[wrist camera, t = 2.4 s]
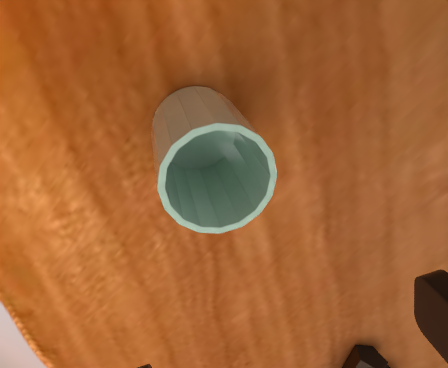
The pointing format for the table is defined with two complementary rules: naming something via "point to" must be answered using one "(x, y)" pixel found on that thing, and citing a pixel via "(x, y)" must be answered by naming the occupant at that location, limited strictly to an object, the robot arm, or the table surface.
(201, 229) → the cup
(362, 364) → the pan flute
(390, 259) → the table surface
